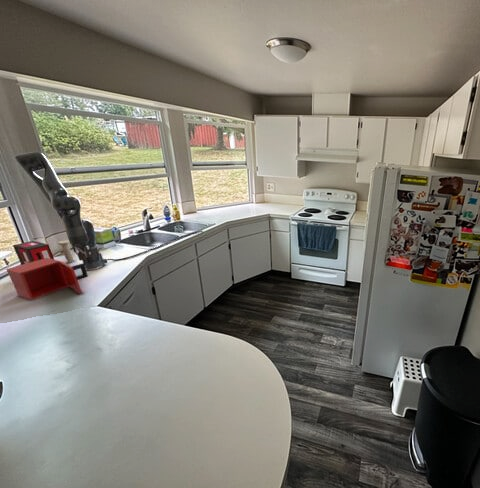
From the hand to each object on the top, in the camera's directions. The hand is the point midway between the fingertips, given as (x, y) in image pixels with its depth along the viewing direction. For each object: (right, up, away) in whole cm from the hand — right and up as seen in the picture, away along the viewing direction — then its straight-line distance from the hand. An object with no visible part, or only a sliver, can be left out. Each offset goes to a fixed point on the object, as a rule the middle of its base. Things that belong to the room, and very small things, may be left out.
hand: (86, 261), depth 140 cm
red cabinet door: (-6, -16, +4) cm, 17 cm away
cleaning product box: (-45, -10, +18) cm, 49 cm away
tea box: (-49, +8, +65) cm, 81 cm away
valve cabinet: (-24, -17, 0) cm, 29 cm away
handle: (-45, -3, +36) cm, 58 cm away
